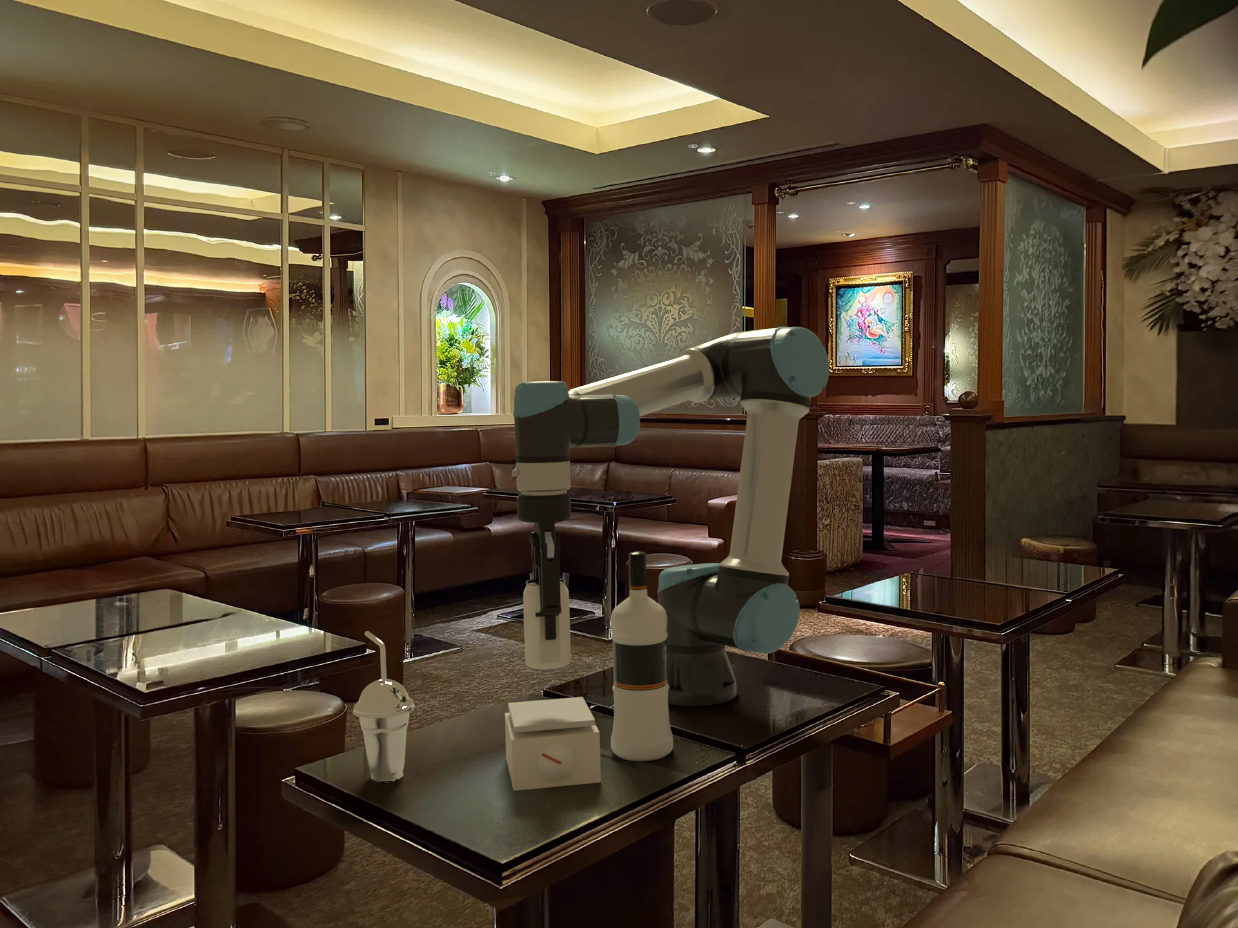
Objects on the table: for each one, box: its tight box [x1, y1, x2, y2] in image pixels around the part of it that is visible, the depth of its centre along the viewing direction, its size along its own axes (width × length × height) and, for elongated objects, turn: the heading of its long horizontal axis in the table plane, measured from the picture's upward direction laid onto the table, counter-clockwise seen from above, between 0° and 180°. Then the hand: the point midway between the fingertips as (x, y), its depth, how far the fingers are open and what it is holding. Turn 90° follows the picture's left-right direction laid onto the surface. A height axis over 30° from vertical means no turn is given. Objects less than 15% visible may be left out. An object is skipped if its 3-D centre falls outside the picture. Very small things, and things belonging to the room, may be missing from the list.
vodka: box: [610, 550, 674, 763], centre depth 145 cm, size 9×9×30 cm
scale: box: [504, 696, 602, 792], centre depth 139 cm, size 12×13×9 cm
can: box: [522, 578, 572, 672], centre depth 139 cm, size 6×6×12 cm
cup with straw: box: [352, 630, 416, 783], centre depth 139 cm, size 8×9×20 cm
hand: (548, 656), depth 139 cm, fingers closed on can, 4 cm apart
